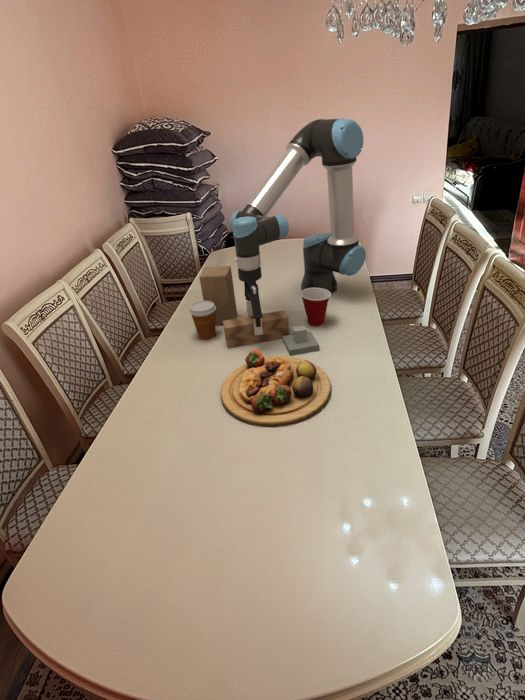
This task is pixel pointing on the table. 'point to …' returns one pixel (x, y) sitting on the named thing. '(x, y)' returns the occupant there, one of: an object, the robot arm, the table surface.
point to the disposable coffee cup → (204, 319)
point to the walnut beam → (243, 329)
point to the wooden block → (219, 291)
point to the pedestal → (300, 341)
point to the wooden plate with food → (275, 390)
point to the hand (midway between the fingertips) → (255, 325)
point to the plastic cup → (315, 304)
